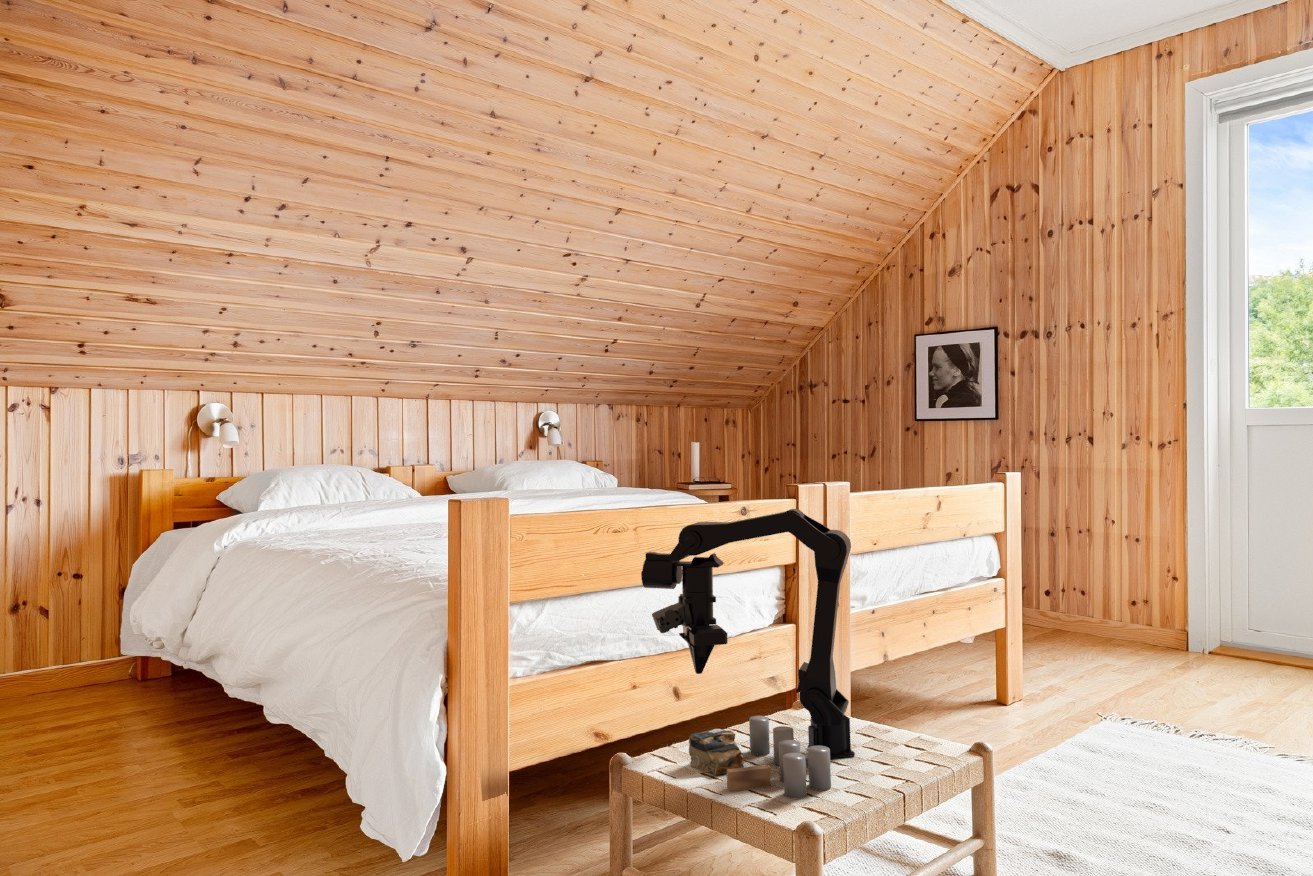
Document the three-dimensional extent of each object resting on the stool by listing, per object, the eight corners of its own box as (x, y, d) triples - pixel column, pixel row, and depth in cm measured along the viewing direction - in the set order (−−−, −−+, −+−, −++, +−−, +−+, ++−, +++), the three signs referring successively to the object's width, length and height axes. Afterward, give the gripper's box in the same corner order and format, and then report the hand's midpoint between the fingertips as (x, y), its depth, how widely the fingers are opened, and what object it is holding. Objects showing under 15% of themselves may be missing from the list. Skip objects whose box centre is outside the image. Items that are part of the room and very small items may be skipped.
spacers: (786, 745, 164) (785, 713, 164) (839, 793, 141) (838, 755, 141) (742, 750, 163) (741, 717, 163) (788, 800, 140) (787, 761, 140)
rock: (718, 779, 149) (717, 745, 149) (682, 764, 157) (681, 732, 157) (755, 767, 155) (754, 734, 155) (719, 753, 162) (718, 721, 162)
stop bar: (768, 783, 147) (767, 764, 147) (771, 786, 145) (770, 767, 145) (727, 787, 145) (726, 769, 145) (729, 791, 144) (729, 772, 144)
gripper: (645, 584, 175) (646, 664, 175) (666, 601, 157) (668, 690, 157) (700, 581, 178) (701, 660, 178) (727, 597, 159) (728, 685, 159)
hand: (698, 673), depth 168 cm, fingers closed
